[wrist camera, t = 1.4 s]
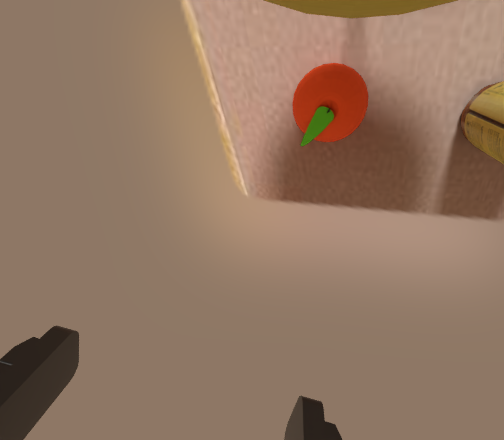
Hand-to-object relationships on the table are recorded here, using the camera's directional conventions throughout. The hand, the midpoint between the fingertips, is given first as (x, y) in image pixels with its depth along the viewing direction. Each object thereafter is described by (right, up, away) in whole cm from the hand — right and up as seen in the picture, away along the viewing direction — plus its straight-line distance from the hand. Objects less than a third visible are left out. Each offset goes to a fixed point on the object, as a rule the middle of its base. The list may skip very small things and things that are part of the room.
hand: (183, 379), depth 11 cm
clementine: (+10, +18, +21) cm, 30 cm away
